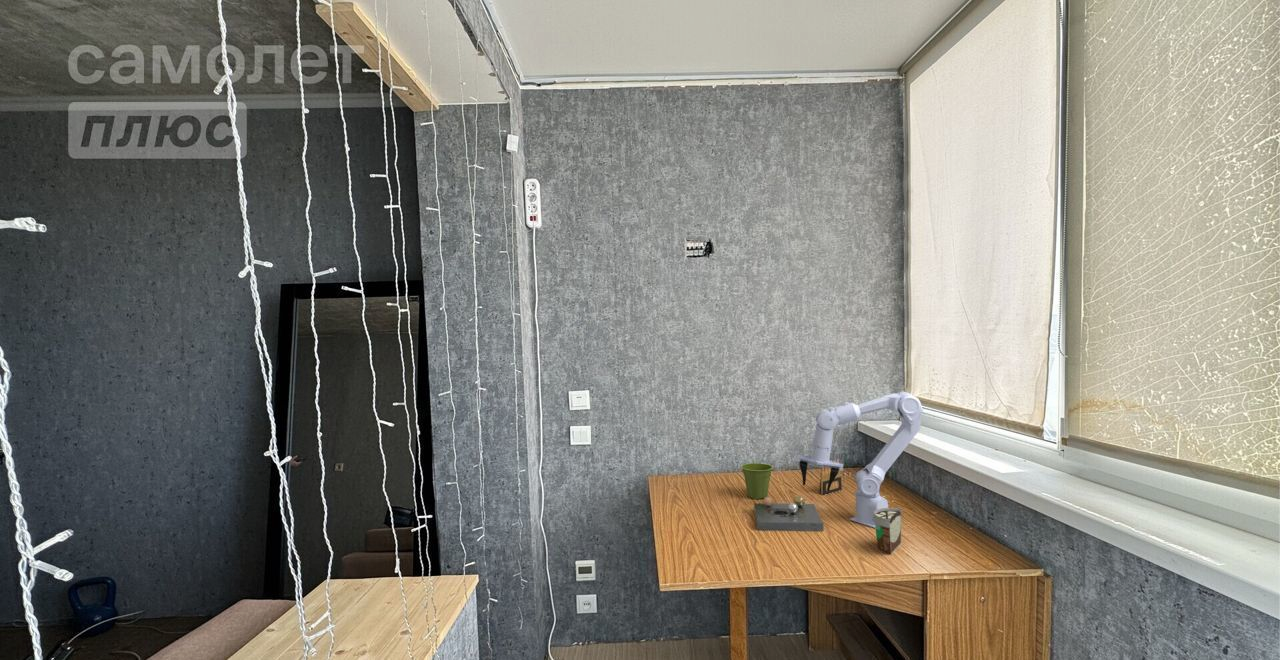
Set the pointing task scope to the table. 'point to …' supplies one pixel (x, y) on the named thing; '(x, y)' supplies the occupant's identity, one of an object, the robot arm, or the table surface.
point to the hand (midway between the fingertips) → (816, 487)
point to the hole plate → (787, 518)
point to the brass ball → (799, 500)
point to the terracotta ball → (767, 501)
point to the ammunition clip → (824, 481)
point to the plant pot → (757, 479)
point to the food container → (888, 529)
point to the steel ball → (792, 507)
